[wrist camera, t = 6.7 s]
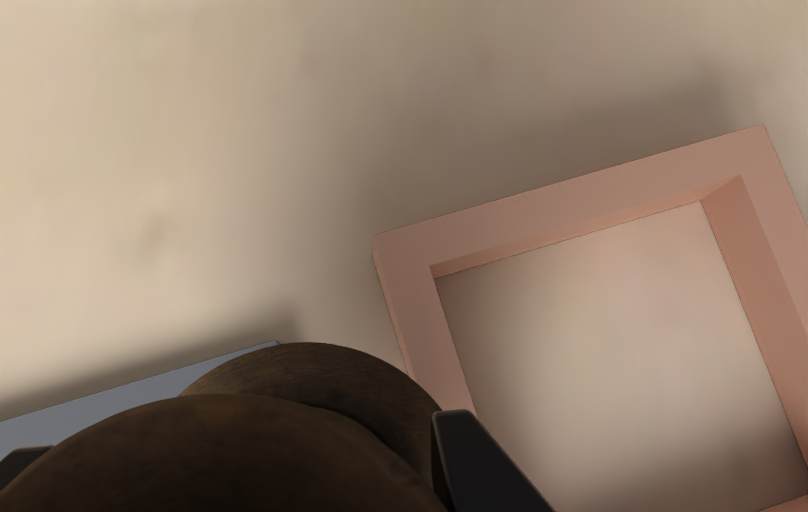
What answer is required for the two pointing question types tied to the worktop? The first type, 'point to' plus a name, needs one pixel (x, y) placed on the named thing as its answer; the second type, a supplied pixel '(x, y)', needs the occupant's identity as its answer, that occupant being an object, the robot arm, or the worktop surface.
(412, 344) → the tray
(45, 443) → the mat
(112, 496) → the mortar and pestle
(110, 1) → the worktop surface
